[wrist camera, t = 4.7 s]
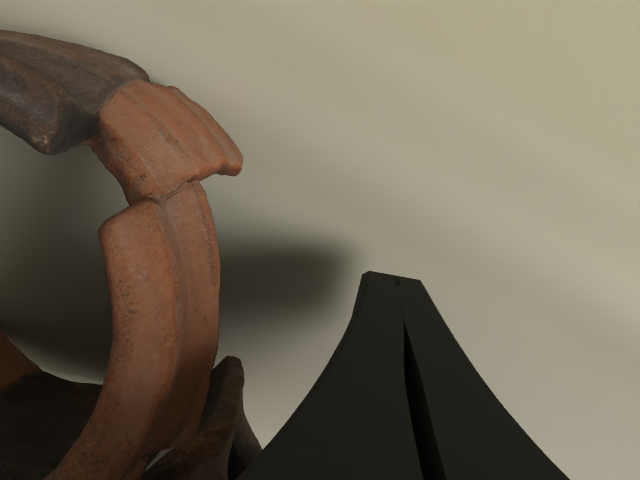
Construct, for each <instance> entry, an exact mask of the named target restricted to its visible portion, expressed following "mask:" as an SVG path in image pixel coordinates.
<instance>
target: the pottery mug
mask: <svg viewBox="0 0 640 480" xmlns="http://www.w3.org/2000/svg"><path fill="white" fill-rule="evenodd" d="M0 125H1V126H2V127H4V128H6V129H8V130H9V131H11V132H12V133H14V134H15V135H17V136H18V137H20V138H21V139H23V140H24V141H26V142H27V143H28V144H29V145H31V146H32V147H33V148H35V149H36V150H38V151H39V152H41V153H43V154H45V155H56V154H59V153H61V152H64V151H67V150H69V149H70V148H74V147H77V146H80V145H89V146H90V147H91V148H92V150H93V151H94V152H95V153H96V154H97V156H98V158H99V159H100V160H101V162H102V163H103V164H104V166H105V167H106V168H107V169H108V170H109V171H110V172H111V173H112V174H113V175H114V176H115V177H116V179H117V180H118V182H119V183H120V185H121V186H122V188H123V191H124V194H125V196H126V199H127V202H128V204H129V207H127V208H125V209H124V210H122V211H120V212H119V213H117V214H115V215H113V216H112V217H110V218H109V219H107V220H106V221H104V223H103V224H102V225H101V226H100V228H99V229H98V239H99V242H100V245H101V249H102V253H103V257H104V262H105V269H106V275H107V280H108V285H109V292H110V301H111V309H112V320H113V343H112V348H111V353H110V357H109V362H108V368H107V372H106V375H105V379H104V383H103V385H100V384H91V383H78V382H72V381H68V380H65V379H62V378H59V377H56V376H54V375H52V374H50V373H47V372H44V371H42V370H41V369H40V368H39V367H38V366H37V365H36V364H34V363H33V362H32V361H30V360H29V359H28V358H27V357H26V356H25V355H24V354H23V353H22V352H21V351H20V350H19V349H18V348H17V347H16V346H14V345H13V344H12V343H11V342H10V341H9V340H8V338H7V337H6V336H5V335H4V334H3V332H2V331H1V330H0V480H236V479H237V478H238V477H239V476H240V474H241V473H242V472H243V471H244V470H245V469H246V468H247V467H248V466H249V465H250V463H251V462H252V461H253V460H254V459H255V458H256V457H257V456H258V455H259V453H260V452H261V451H262V448H261V446H260V444H259V442H258V440H257V438H256V437H255V435H254V433H253V431H252V429H251V427H250V425H249V423H248V421H247V419H246V417H245V413H244V409H243V386H244V370H243V367H242V363H241V360H240V359H239V358H237V357H233V356H226V357H225V358H224V359H223V360H222V361H221V362H220V363H219V364H218V365H217V366H216V367H215V368H214V369H213V366H214V362H215V358H216V354H217V350H218V336H219V325H218V320H219V291H220V269H221V266H220V256H219V248H218V240H217V235H216V230H215V225H214V221H213V217H212V213H211V209H210V206H209V204H208V200H207V196H206V193H205V190H204V189H203V187H202V186H201V185H200V183H199V182H200V181H201V180H203V179H205V178H208V177H209V176H211V175H212V174H215V173H216V174H219V175H229V176H236V175H238V174H239V173H240V171H241V170H242V163H243V156H242V154H241V152H240V151H239V149H238V147H237V146H236V145H235V143H234V142H233V140H232V139H231V138H230V137H229V135H228V134H227V133H226V132H225V131H224V130H223V129H222V127H221V126H220V125H219V124H218V123H217V122H216V121H215V120H214V118H213V117H212V116H211V115H210V113H209V112H207V111H206V110H205V109H204V108H203V107H201V106H200V105H199V104H197V103H196V102H194V101H191V100H190V99H189V98H188V97H187V96H186V95H185V94H184V93H183V92H181V91H180V90H179V89H178V88H176V87H174V86H167V87H165V86H163V85H160V84H155V83H153V82H151V81H150V79H149V76H148V75H147V73H146V71H145V70H143V69H142V68H141V67H140V66H138V65H137V64H135V63H133V62H132V61H130V60H128V59H126V58H123V57H120V56H116V55H113V54H109V53H105V52H102V51H100V50H96V49H92V48H89V47H85V46H82V45H79V44H75V43H68V42H64V41H60V40H55V39H51V38H47V37H42V36H38V35H31V34H25V33H19V32H13V31H5V30H0ZM212 369H213V370H212Z"/></svg>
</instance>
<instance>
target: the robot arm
mask: <svg viewBox="0 0 640 480" xmlns="http://www.w3.org/2000/svg"><path fill="white" fill-rule="evenodd" d="M236 480H570V479H569V478H568V477H567V476H566V475H565V474H564V473H563V472H562V471H561V470H560V469H559V468H558V467H557V466H556V465H555V464H554V463H553V462H552V461H551V460H550V459H549V458H548V457H547V456H546V455H545V454H544V453H543V451H542V450H541V449H540V448H539V447H538V446H537V445H536V444H535V443H534V442H533V440H532V439H531V438H530V437H529V436H528V435H527V434H526V432H525V431H524V430H523V429H522V428H521V427H520V425H519V424H518V423H517V422H516V421H515V420H514V418H513V417H512V416H511V415H510V414H509V413H508V411H507V410H506V409H505V408H504V407H503V405H502V404H501V403H500V402H499V400H498V399H497V398H496V396H495V395H494V394H493V392H492V391H491V390H490V388H489V387H488V386H487V384H486V383H485V382H484V380H483V379H482V378H481V376H480V375H479V374H478V372H477V371H476V369H475V368H474V366H473V365H472V363H471V362H470V361H469V359H468V357H467V356H466V354H465V353H464V351H463V350H462V348H461V347H460V345H459V344H458V342H457V341H456V339H455V338H454V336H453V334H452V333H451V331H450V330H449V328H448V326H447V325H446V323H445V321H444V320H443V318H442V316H441V315H440V313H439V311H438V310H437V308H436V306H435V304H434V303H433V301H432V299H431V297H430V296H429V294H428V292H427V291H426V289H425V287H424V285H423V284H422V282H421V281H420V280H417V279H411V278H406V277H400V276H395V275H389V274H384V273H378V272H373V271H368V272H366V273H364V274H362V278H361V282H360V286H359V290H358V294H357V298H356V302H355V306H354V310H353V313H352V317H351V320H350V322H349V325H348V327H347V329H346V331H345V333H344V335H343V337H342V339H341V341H340V343H339V344H338V346H337V348H336V350H335V352H334V353H333V355H332V357H331V359H330V360H329V362H328V364H327V366H326V367H325V369H324V370H323V372H322V373H321V375H320V377H319V378H318V380H317V381H316V383H315V384H314V386H313V387H312V388H311V390H310V391H309V393H308V394H307V396H306V397H305V398H304V400H303V401H302V402H301V404H300V405H299V406H298V408H297V409H296V410H295V412H294V413H293V414H292V415H291V417H290V418H289V419H288V421H287V422H286V423H285V425H284V426H283V427H282V428H281V429H280V431H279V432H278V433H277V434H276V435H275V437H274V438H273V439H272V440H271V441H270V442H269V444H268V445H267V446H266V447H265V448H264V449H263V450H262V451H261V452H260V453H259V455H258V456H257V457H256V458H255V459H254V460H253V461H252V462H251V463H250V465H249V466H248V467H247V468H246V469H245V470H244V471H243V472H242V473H241V474H240V476H239V477H238V478H237V479H236Z"/></svg>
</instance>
